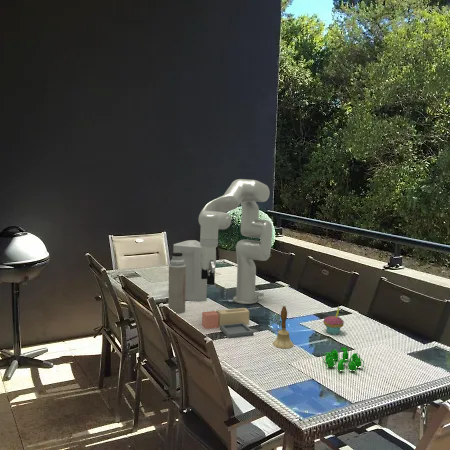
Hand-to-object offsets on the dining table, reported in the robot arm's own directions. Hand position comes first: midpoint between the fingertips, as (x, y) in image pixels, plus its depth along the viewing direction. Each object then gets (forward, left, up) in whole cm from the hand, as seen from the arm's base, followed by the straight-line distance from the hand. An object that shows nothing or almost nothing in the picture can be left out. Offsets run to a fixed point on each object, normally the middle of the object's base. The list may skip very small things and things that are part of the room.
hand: (207, 281), depth 218 cm
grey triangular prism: (-4, -44, -21) cm, 49 cm away
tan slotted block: (-12, 0, -20) cm, 24 cm away
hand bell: (-23, +28, -21) cm, 42 cm away
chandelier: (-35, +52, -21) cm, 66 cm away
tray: (-10, +10, -20) cm, 25 cm away
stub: (-2, 0, -20) cm, 21 cm away
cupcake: (-50, +22, -21) cm, 58 cm away
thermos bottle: (+7, -24, -21) cm, 32 cm away
